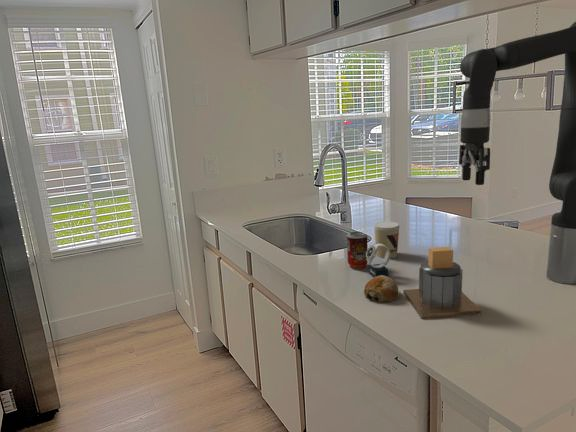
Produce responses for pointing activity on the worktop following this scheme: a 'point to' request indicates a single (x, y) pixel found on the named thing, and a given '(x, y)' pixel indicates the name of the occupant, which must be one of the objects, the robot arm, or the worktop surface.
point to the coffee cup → (386, 238)
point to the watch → (377, 268)
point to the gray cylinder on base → (440, 297)
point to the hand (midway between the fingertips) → (472, 182)
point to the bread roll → (381, 289)
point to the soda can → (357, 250)
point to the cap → (440, 263)
